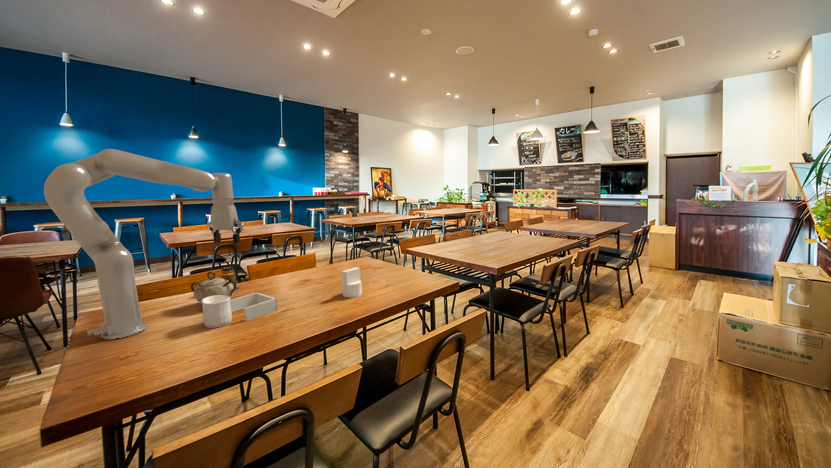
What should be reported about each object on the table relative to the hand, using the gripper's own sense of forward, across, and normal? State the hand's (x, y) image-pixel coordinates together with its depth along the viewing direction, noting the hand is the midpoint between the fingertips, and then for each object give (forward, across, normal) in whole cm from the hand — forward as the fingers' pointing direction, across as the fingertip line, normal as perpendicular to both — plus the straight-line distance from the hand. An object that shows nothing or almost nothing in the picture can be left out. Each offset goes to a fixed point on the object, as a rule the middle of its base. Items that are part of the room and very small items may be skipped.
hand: (227, 242), depth 139 cm
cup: (+28, +10, -18) cm, 35 cm away
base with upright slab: (+27, +47, +22) cm, 59 cm away
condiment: (+28, -16, +16) cm, 36 cm away
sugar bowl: (+28, -7, -2) cm, 29 cm away
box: (+28, +15, -6) cm, 32 cm away
